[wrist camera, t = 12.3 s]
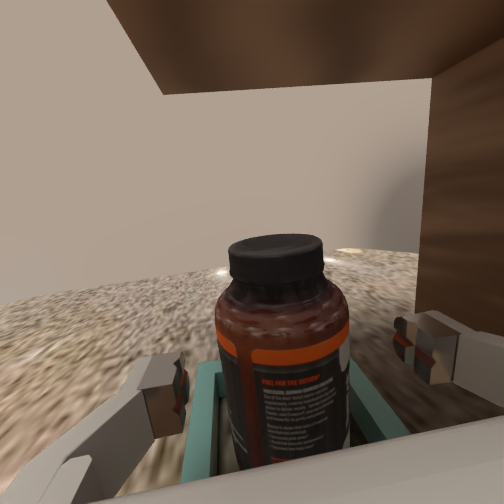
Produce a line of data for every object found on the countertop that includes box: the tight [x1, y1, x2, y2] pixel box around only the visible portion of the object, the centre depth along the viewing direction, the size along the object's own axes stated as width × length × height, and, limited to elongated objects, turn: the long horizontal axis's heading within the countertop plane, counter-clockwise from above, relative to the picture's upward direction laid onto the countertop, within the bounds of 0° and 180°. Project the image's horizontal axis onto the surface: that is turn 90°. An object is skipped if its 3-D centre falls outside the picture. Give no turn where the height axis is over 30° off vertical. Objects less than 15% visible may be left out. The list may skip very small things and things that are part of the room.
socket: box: [180, 355, 412, 484], centre depth 13 cm, size 10×10×2 cm
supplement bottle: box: [215, 234, 350, 471], centre depth 11 cm, size 6×6×11 cm
